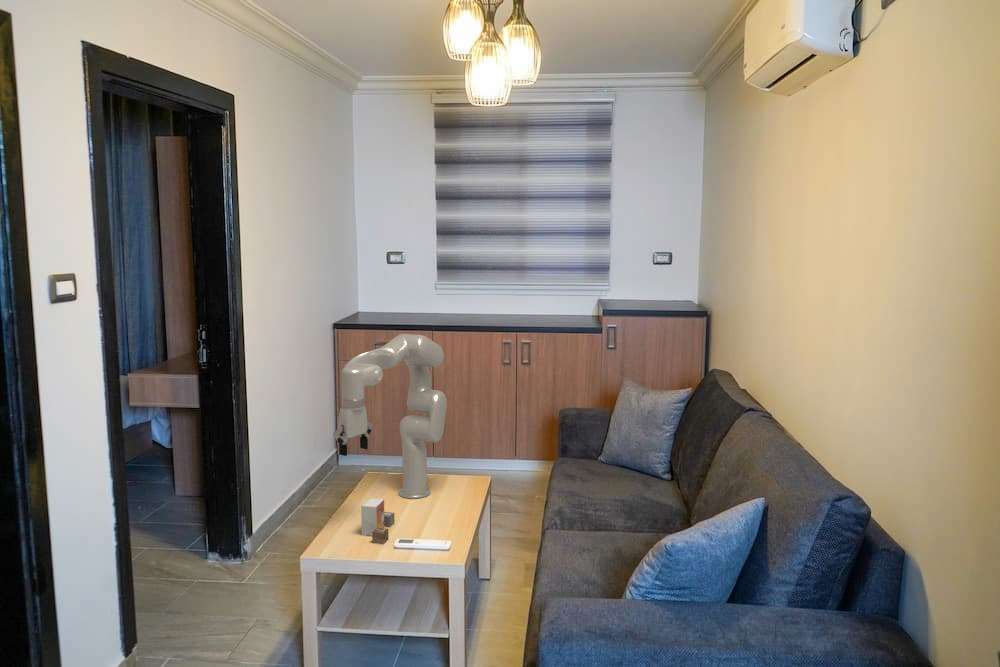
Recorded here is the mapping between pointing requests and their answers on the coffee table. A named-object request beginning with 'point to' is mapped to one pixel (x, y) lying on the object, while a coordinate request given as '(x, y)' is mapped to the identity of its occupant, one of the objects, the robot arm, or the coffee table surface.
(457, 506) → the coffee table surface
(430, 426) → the robot arm
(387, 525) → the digit one block
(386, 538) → the digit seven block
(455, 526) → the coffee table surface
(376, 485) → the coffee table surface
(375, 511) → the small box
